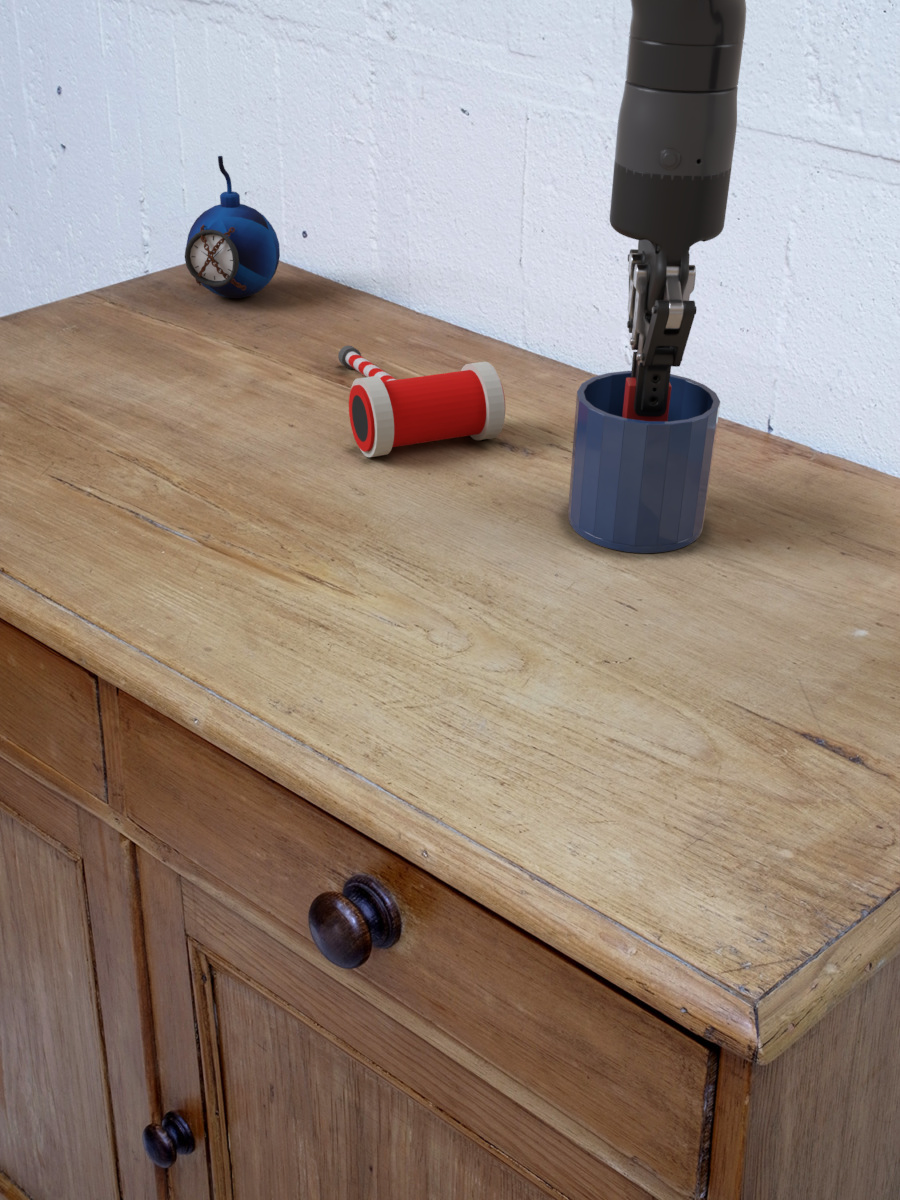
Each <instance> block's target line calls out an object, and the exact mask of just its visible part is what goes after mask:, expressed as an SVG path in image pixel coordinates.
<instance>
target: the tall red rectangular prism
mask: <svg viewBox="0 0 900 1200" xmlns="http://www.w3.org/2000/svg"><path fill="white" fill-rule="evenodd" d="M638 347H639V343H638ZM656 348H667V346H658V347H656ZM637 367H638V361H637V363H636V373H635V378H626V384H625V394H624V405H623V415H622V417H623V418H627V419H634V420H642V421H661V422H667V421H668V413H669V404H670V395H671V384H670V382H669V389H668V398H667V407H666V412H665V414H664V415H662V416H638V415H637V414H636V413H635V410H634V398H635V388H636V377H637Z"/></svg>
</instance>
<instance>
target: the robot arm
mask: <svg viewBox="0 0 900 1200" xmlns="http://www.w3.org/2000/svg"><path fill="white" fill-rule="evenodd" d="M630 5H631V16H630V17H631V18H630V26H629V35H628V44H627V45H628V47H627V58H626V66H625V67H626V69H625V81H624V88H623V93H622V98H621V101H620V108H619V113H618V117H617V118H618V119H617V127H616V140H615V152H614V163H613V173H612V175H613V176H612V185H611V189H612V190H611V199H610V211H609V224H610V226H611V228H612V229H613V230H614V231H615V232H616V233H618V234H620V235H621V236H624V237H627V238H629V239H633V240H636V241H638V243H637V249H635V248H633V249H632V248H631V249H630V250H629V254H627V263H628V264H627V273H628V300H627V313H628V320H627V322H626V327H627V329H628V333H629V334H631V337H630V338H629V345H630V348H631V350H632V351H633V353H632V362H631V370H630V371H631V378H635V373H636V363H637V361H638V367H637V377H636V388H635V398H634V410H635V413H636V414H637V415H638V416H662V415H664V414H665V412H666V407H667V398H668V389H669V381H670V374H671V372H672V367H677V368H679V367H681V364H682V361H683V357H684V353H685V350H686V347H687V344H688V340H689V336H690V334H691V331H692V330H691V329H692V327H693V323H694V319H695V316H696V314H697V306H696V302H695V300H690V297H691V294H692V293H693V292H694V290H695V287H696V286H695V285H696V277H697V276H696V275H697V268H696V265H695V264H690V255H691V254H690V249H691V247H692V246H693V245H695V244H697V243H699V242H708V241H711V240H713V239H715V238H717V237H718V236H720V235H721V233H722V232H723V230H724V228H725V221H726V214H727V206H728V199H729V198H728V197H729V192H730V191H729V190H730V181H731V175H732V166H733V159H734V151H735V144H736V136H737V127H738V89H739V87H738V86H739V79H740V70H741V65H742V64H741V63H742V62H741V61H742V55H743V48H744V40H745V32H746V23H747V22H746V21H747V2H746V0H630ZM638 343H639V347H638ZM658 346H667V348H656V347H658Z"/></svg>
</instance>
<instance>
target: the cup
mask: <svg viewBox="0 0 900 1200" xmlns="http://www.w3.org/2000/svg"><path fill="white" fill-rule="evenodd" d="M631 371H632V370H624V371H622V370H621V371H615V372H613V371H612V372H607V373H603V374H599V375H595V376H593V377H591V378H588V379H587V380H585V381H584V382H582V383H581V384H580V386H579V388H578V389H577V390H576V401H575V414H574V427H573V439H572V440H573V441H572V451H571V452H572V453H571V464H570V465H571V466H570V477H569V478H570V479H569V493H568V506H567V510H568V513H567V514H568V515H567V516H568V518H567V519H568V522H569V525H570V527H571V528H572V529H573V530H574V532H575V533H576V534H577V535H579V536H580V537H582V538H583V539H584V540H587V541H588V542H591V543H593V544H595V545H597V546H600V547H603V548H607V549H610V550H615V551H618V552H624V553H634V554H657V553H658V554H659V553H666V552H673V551H675V550H679V549H682V548H685V547H687V546H689V545H691V544H693V543H694V542H696V541H697V540H698V539H699V537H700V536H701V534H702V532H703V530H704V522H705V520H706V511H707V504H708V496H709V489H710V481H711V475H712V466H713V459H714V452H715V444H716V438H717V431H718V430H717V429H718V423H719V422H718V421H719V415H720V407H721V400H720V398H719V396H718V394H717V393H716V392H715V391H714V390H713V389H712V388H710V387H708V386H707V385H705V384H703V383H701V382H699V381H696V380H694V379H692V378H689V377H686V376H685V377H684V376H680V375H677V374H672V373H670V381H669V382H670V384H671V395H670V404H669V413H668V421H667V422H661V421H642V420H634V419H627V418H623V417H622V415H623V405H624V394H625V384H626V378H631Z"/></svg>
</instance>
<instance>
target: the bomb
mask: <svg viewBox="0 0 900 1200" xmlns="http://www.w3.org/2000/svg"><path fill="white" fill-rule="evenodd" d="M217 161H218V169H219V171H220V173H221V174H222V176H223V177H224V179H225V183H226V191H223V192H221V193H220V195H219V202H220V204H215V205H213V206H211V207H210V208H208V209H206V210H204V211H203V212H202V213H201V214H200V215H199V216H198V217H197V218H196V219H195V220H194V222H193V224H192V225H191V227H190V230H189V232H188V235H187V240H186V244H185V245H186V246H185V251H184V262H185V266H186V268H187V270H188V271H189V273H190V275H191V276H192V277H193V278H194V279H195V281H196V283H197V284H198V285H199V286H202V287H204V288H205V289H207V290H208V291H209V292H211V293H212V294H215V295H217V296H220V297H223V298H228V299H243V298H247V297H251V296H253V295H255V294H256V293H258V292H261V291H262V290H263V289H264V288H265V287H267V285H268V284H269V283H271V281H272V279H273V278H274V276H275V275H276V272H277V269H278V266H279V263H280V258H281V253H280V250H281V249H280V242H279V238H278V234H277V232H276V231H275V229H274V226H273V225H272V224H271V222H270V221H269V220H268V219H267V217H266V216H265V215H264V214H262V213H261V212H259V211H258V210H257V209H256V208H255V207H254V208H253V207H251V206H249V205H247V204H243V203H241V195H240V193H238V192H237V191H233V190H232V187H233V186H232V179H231V176H230V174H229V173H228V171H227V169H226V167H225V164H224V158H223V155H218V156H217Z"/></svg>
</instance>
